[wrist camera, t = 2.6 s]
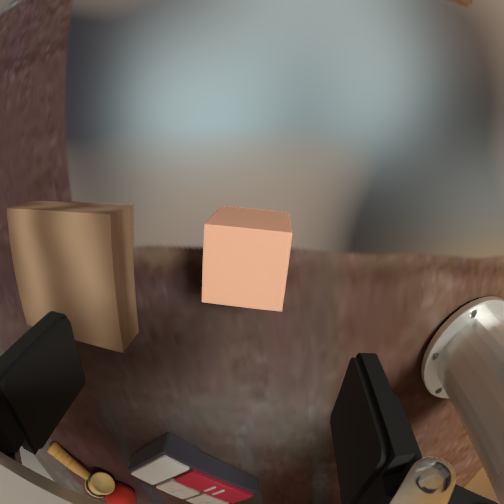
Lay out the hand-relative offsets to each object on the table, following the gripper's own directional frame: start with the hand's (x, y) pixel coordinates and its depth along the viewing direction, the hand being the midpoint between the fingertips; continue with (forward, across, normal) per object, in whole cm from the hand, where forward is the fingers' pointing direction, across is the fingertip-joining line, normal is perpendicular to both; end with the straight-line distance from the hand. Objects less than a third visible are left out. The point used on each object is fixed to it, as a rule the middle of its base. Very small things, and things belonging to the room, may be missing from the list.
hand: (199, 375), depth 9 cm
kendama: (+16, +24, +45) cm, 53 cm away
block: (+16, -1, 0) cm, 16 cm away
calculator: (+16, +4, +34) cm, 38 cm away
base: (+16, +15, +4) cm, 23 cm away
